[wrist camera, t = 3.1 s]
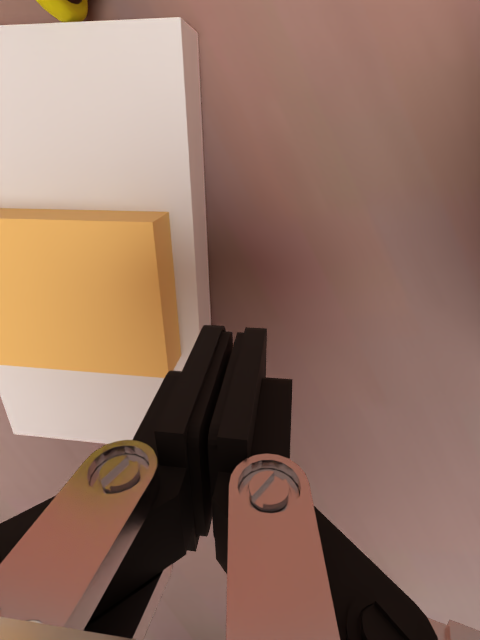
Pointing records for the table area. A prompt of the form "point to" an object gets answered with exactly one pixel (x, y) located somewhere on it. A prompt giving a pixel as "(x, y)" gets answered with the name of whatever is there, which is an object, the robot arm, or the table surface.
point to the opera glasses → (66, 9)
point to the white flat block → (104, 184)
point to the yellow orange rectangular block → (88, 291)
